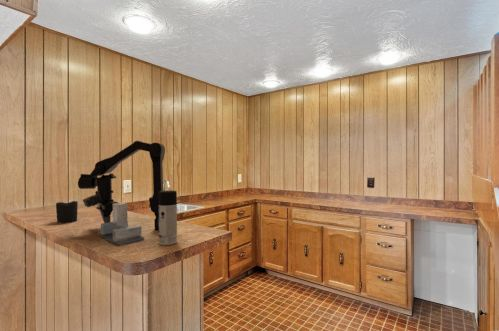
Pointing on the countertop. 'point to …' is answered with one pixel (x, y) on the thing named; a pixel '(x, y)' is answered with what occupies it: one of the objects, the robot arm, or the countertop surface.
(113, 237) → the vise base
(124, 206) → the steel block
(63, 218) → the pen holder
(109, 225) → the sliding jaw
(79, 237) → the countertop surface
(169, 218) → the spray can
